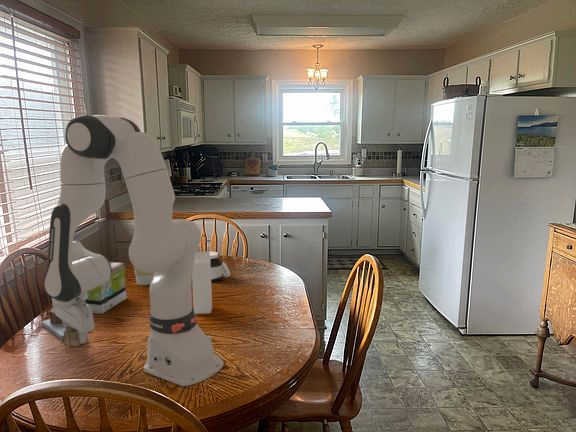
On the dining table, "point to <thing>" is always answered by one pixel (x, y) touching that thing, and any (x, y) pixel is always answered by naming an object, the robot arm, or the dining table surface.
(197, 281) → the milk
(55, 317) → the walnut gear
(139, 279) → the coffee cup
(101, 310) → the tea box
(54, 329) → the gear board
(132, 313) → the dining table surface
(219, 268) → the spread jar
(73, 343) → the birch gear
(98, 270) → the robot arm
